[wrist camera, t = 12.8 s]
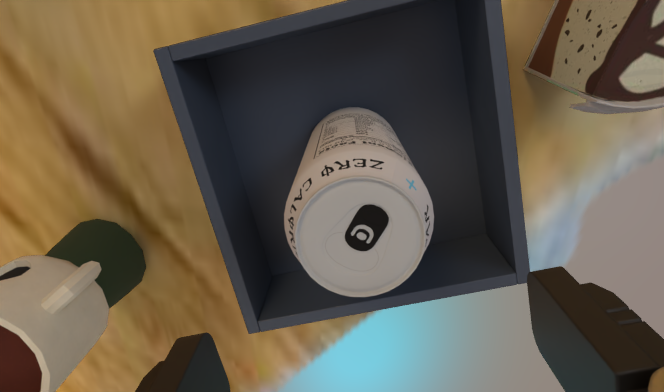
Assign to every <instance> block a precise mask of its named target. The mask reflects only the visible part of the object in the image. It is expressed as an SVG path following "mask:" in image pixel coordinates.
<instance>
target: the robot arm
mask: <svg viewBox="0 0 664 392" xmlns="http://www.w3.org/2000/svg"><path fill="white" fill-rule="evenodd" d="M527 286H528V295H529V304H530V312H531V321H532V330H533V334H534V338H535V341H536V344H537V346H538V348H539V351H540V353H541V354H542V356H543V358H544V359H545V361H546V362H547V364H548V365H549V367H550V368H551V370H552V372H553V373H554V375H555V376H556V378H557V379H558V381H559V383H560V384H561V386H562V387H563V389H564V390H565V392H664V339H663V338H662V337H661V336H660V335H659V334H657V333H656V332H655V331H654V330H653V329H652V328H651V327H650V326H649V325H648V324H647V323H646V322H642V320H641V318H640V317H639V316H638V315H637V314H636V313H635V312H634V311H633V310H629V308H628V306H627V305H626V304H625V303H624V302H623V301H622V300H621V299H620V298H618V297H617V296H616V295H615V294H614V293H613V292H611V291H608V290H606V289H604V288H602V287H600V286H598V285H595V284H593V283H587V284H581V285H580V284H579V283H578V282H577V281H576V280H575V279H574V278H573V277H572V276H571V275H570V274H569V273H568V272H567V271H566V270H565V269H564V268H563V267H554V268H549V269H544V270H538V271H533V272H529V273H528V275H527ZM135 392H230V385H229V381H228V378H227V375H226V373H225V370H224V367H223V365H222V362H221V359H220V356H219V354H218V351H217V348H216V346H215V343H214V340H213V338H212V336H211V335H210V334H209V333H202V334H197V335H191V336H186V337H181V338H178V339H177V340H176V341H175V343H174V345H173V347H172V348H171V350H170V352H169V354H168V356H167V357H166V359H165V361H161V362H159V363H158V364H157V365H156V366H155V367H154V368H153V369H152V370H151V371H150V372H149V373H148V374H147V375H146V376H145V377H144V378H143V379H142V381H141V383H140V384H139V386H138V388H137V389H136V391H135Z"/></svg>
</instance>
